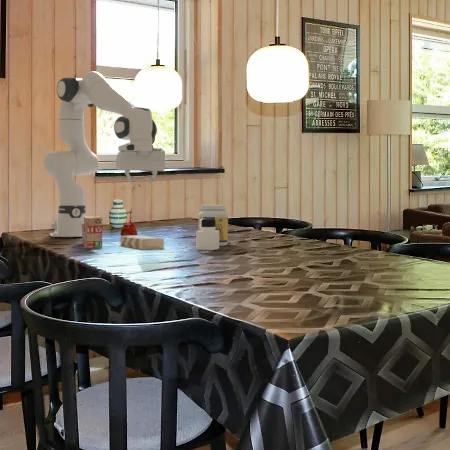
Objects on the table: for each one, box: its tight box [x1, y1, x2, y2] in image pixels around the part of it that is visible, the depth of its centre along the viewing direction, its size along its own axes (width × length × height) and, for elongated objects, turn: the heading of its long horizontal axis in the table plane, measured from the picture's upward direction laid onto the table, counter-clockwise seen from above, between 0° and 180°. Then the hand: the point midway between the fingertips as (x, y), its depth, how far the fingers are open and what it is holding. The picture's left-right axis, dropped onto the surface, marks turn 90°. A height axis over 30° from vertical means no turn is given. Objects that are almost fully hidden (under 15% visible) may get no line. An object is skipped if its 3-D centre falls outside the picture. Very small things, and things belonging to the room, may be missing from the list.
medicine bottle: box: [195, 218, 220, 251], centre depth 251 cm, size 7×7×12 cm
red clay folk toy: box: [120, 208, 138, 237], centre depth 284 cm, size 8×7×15 cm
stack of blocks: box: [81, 216, 103, 250], centre depth 266 cm, size 21×6×12 cm, turn 17°
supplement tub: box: [198, 204, 229, 247], centre depth 268 cm, size 12×12×17 cm
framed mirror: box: [120, 234, 165, 251], centre depth 262 cm, size 23×9×4 cm, turn 30°
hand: (141, 182), depth 261 cm, fingers open, 8 cm apart
